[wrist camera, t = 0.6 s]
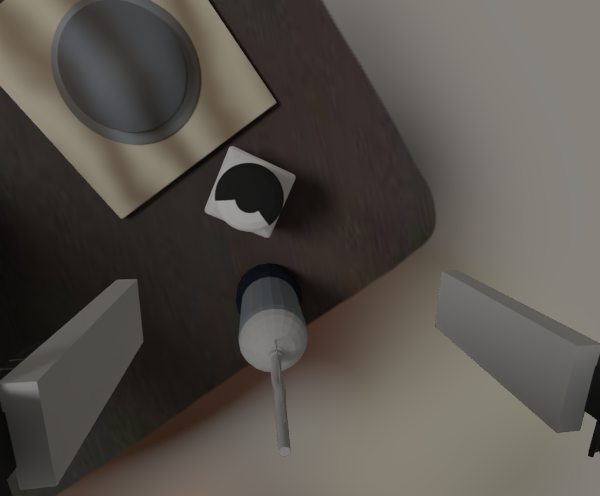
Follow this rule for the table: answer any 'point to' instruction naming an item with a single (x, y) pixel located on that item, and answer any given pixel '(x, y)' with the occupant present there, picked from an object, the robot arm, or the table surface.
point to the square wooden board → (128, 87)
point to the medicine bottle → (249, 192)
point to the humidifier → (272, 331)
